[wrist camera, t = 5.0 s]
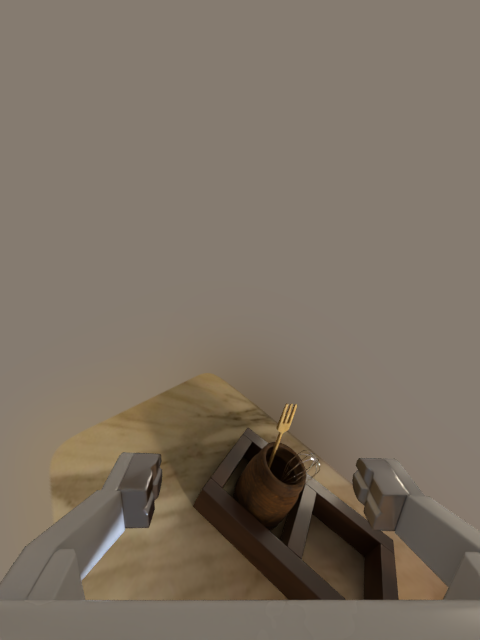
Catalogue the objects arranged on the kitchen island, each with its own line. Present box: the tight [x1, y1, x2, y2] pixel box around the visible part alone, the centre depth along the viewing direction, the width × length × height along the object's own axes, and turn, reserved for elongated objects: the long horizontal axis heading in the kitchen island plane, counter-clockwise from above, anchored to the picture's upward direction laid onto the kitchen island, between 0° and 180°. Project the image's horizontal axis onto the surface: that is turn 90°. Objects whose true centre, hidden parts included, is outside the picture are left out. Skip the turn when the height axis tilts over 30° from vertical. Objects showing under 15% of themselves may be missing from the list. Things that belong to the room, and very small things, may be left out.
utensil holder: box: [234, 404, 320, 530], centre depth 26 cm, size 6×6×12 cm
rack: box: [193, 428, 399, 600], centre depth 26 cm, size 10×20×3 cm, turn 60°
